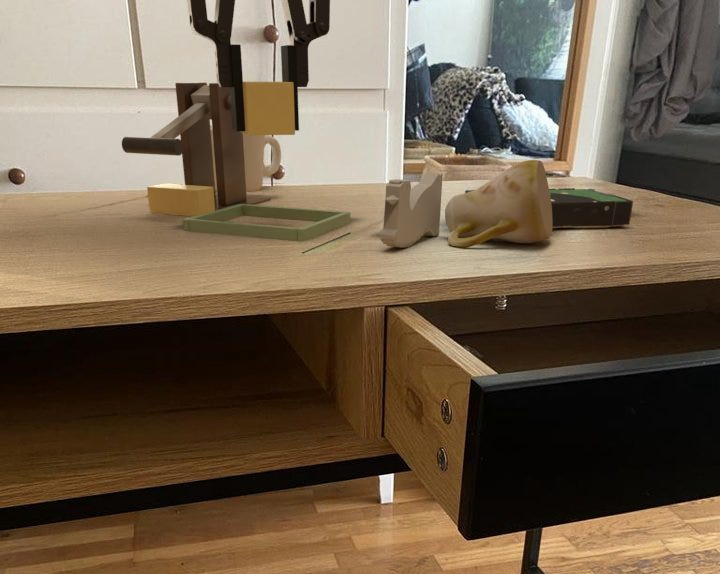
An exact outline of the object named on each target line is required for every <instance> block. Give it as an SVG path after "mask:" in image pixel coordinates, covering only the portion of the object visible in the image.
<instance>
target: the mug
mask: <svg viewBox="0 0 720 574" xmlns="http://www.w3.org/2000/svg"><path fill="white" fill-rule="evenodd" d="M549 189H550V186H549V181H548V177H547V173H546V169H545V165H544V163H543V162H542V160H539V159H530V160H523V161H520V162H518V163H515V164H513V165H511V166H509V167H508V168H506V169H505V170H503V171H501V172H500V173H499V174H497V175H496V176H495V177H493V178H491V179H490V180H488V181H487V182H486V183H484V184H483V185H482V186H479V187H478V188H476V189H473V190H474V191H471V192H467V193H465V192H464V193H460V194H456V195H454V196H452V197H451V198H450V200H449V201H448V202H447V204H446V206H445V208H444V220H445V224H446V226H447V228H448V230H449V232H450V233H449V235H448V237H447V243H448V244H449V245H450V246H453V247H457V248H458V247H459V248H471V247H474V246H476V245H479V244H482V243H485V242H487V241H489V240H492V239H497V240H501V241H506V242H510V243H515V244H534V243H539V242H541V241H544V240H548V239H549V240H550V239H551V237H552V235H553V229H554V228H553V227H552V226H553V219H552V204H551V198H550V192H549Z"/></svg>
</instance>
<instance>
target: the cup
mask: <svg viewBox="0 0 720 574" xmlns="http://www.w3.org/2000/svg"><path fill="white" fill-rule="evenodd" d="M210 130H211V142H212V155H213V168H214V181H215V192H217V182H216V169H215V156H214V143H213V130H212V124H210ZM268 144H269V146H270V148H271V153H272V157H271V158H272V159H271V163H270V165H269V166H268V167H266V165H265V162H264V159H265V158H264V156H265V147H266V145H268ZM243 146H244V163H245V180H246V193H247V192H254V191H259V190H262V189H263V179H264V177H268V176H272V175H273V174H275V173H277V171H278V170H279V168H280V165H281V160H282V150H281V145H280V142H279V141H278V139H277V138H276V137H274V136H273V135H247V134H245V133H243Z"/></svg>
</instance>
